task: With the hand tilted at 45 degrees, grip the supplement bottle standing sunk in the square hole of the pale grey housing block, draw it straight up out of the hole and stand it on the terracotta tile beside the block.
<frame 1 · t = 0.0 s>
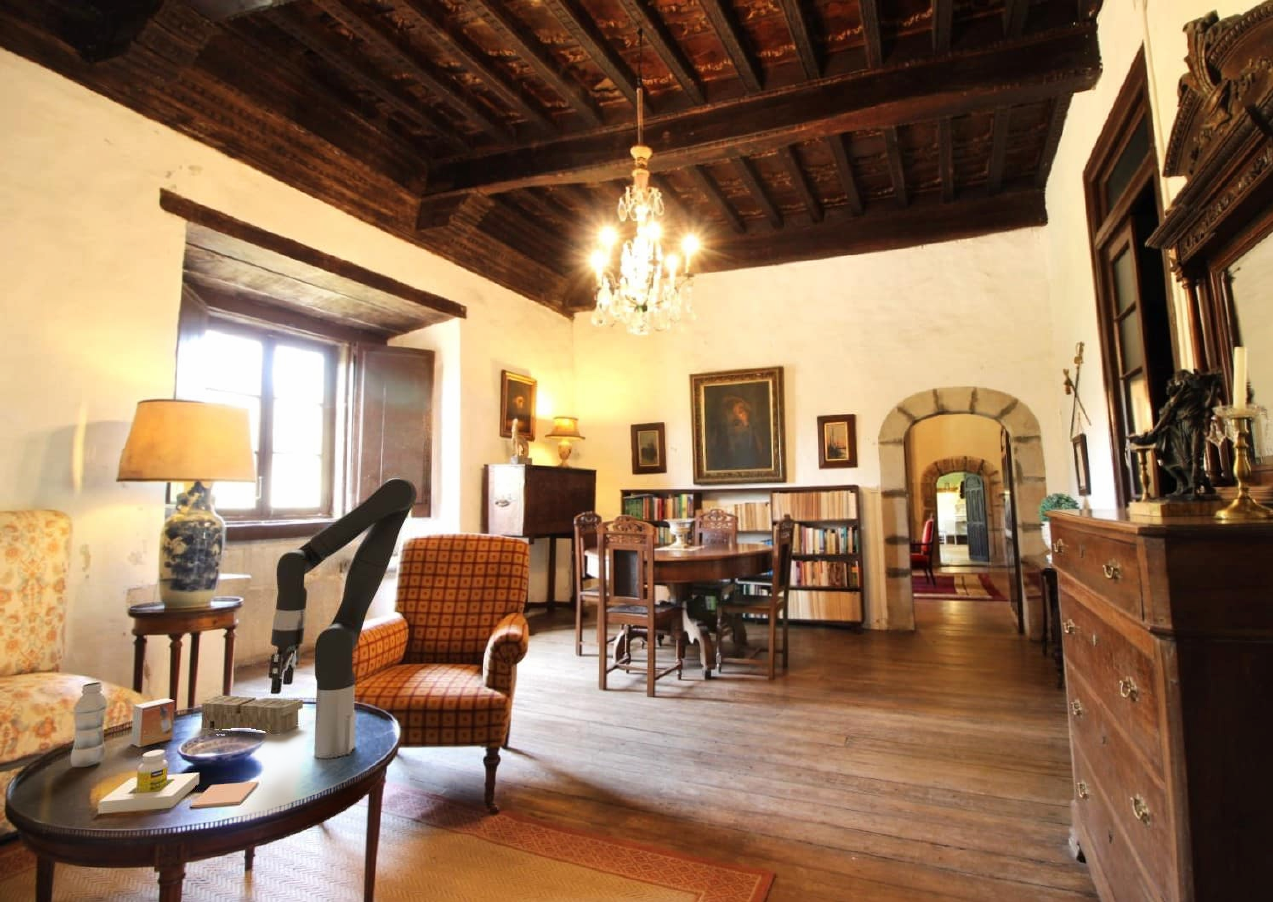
hand: (281, 688, 166), 17 cm above the table, tool pointing down, fingers open, 8 cm apart
plastic bottle: (87, 766, 159), on the table
housing block: (151, 797, 142), on the table
terracotta tile: (225, 795, 143), on the table
small box: (152, 742, 175), on the table
block tower: (249, 728, 186), on the table
supplement bottle: (150, 798, 142), resting in housing block
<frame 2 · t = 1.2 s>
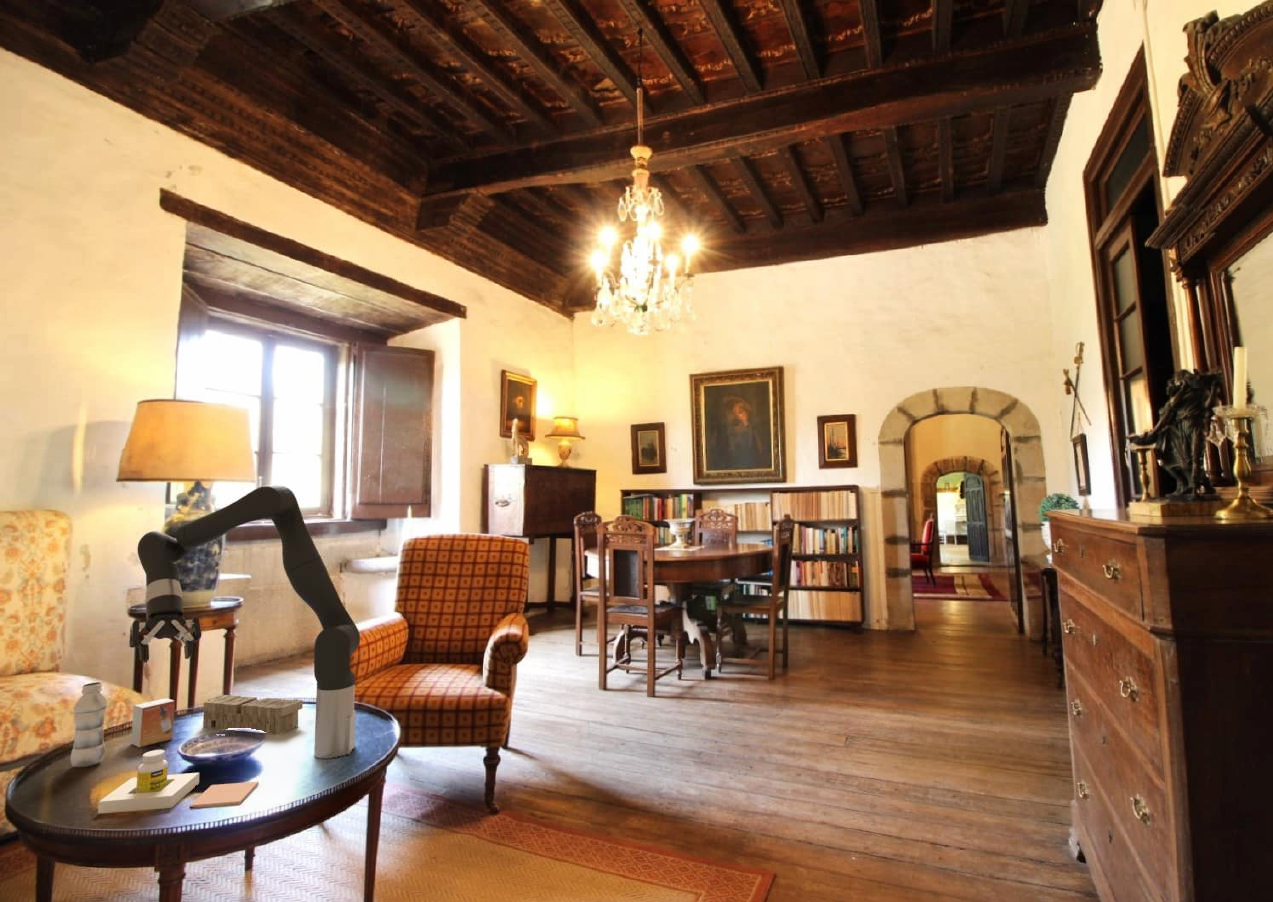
hand: (167, 659, 154), 28 cm above the table, tool tilted 35°, fingers open, 8 cm apart
nothing on the table moved.
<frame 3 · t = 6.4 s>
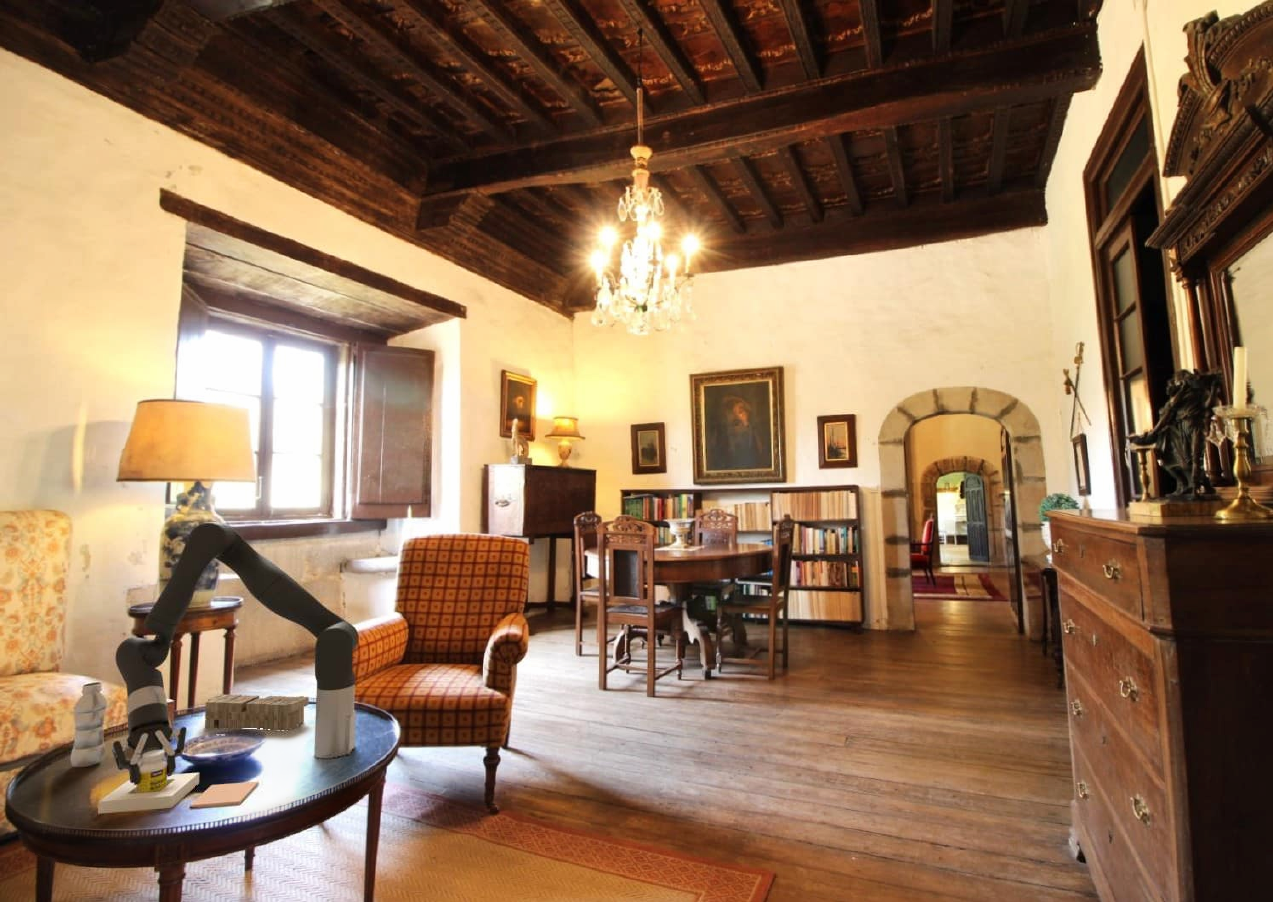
hand: (153, 778, 141), 5 cm above the table, tool tilted 45°, fingers closed on supplement bottle, 5 cm apart
block tower: (254, 726, 188), on the table
supplement bottle: (150, 798, 142), resting in housing block, touching gripper
everything else where it was.
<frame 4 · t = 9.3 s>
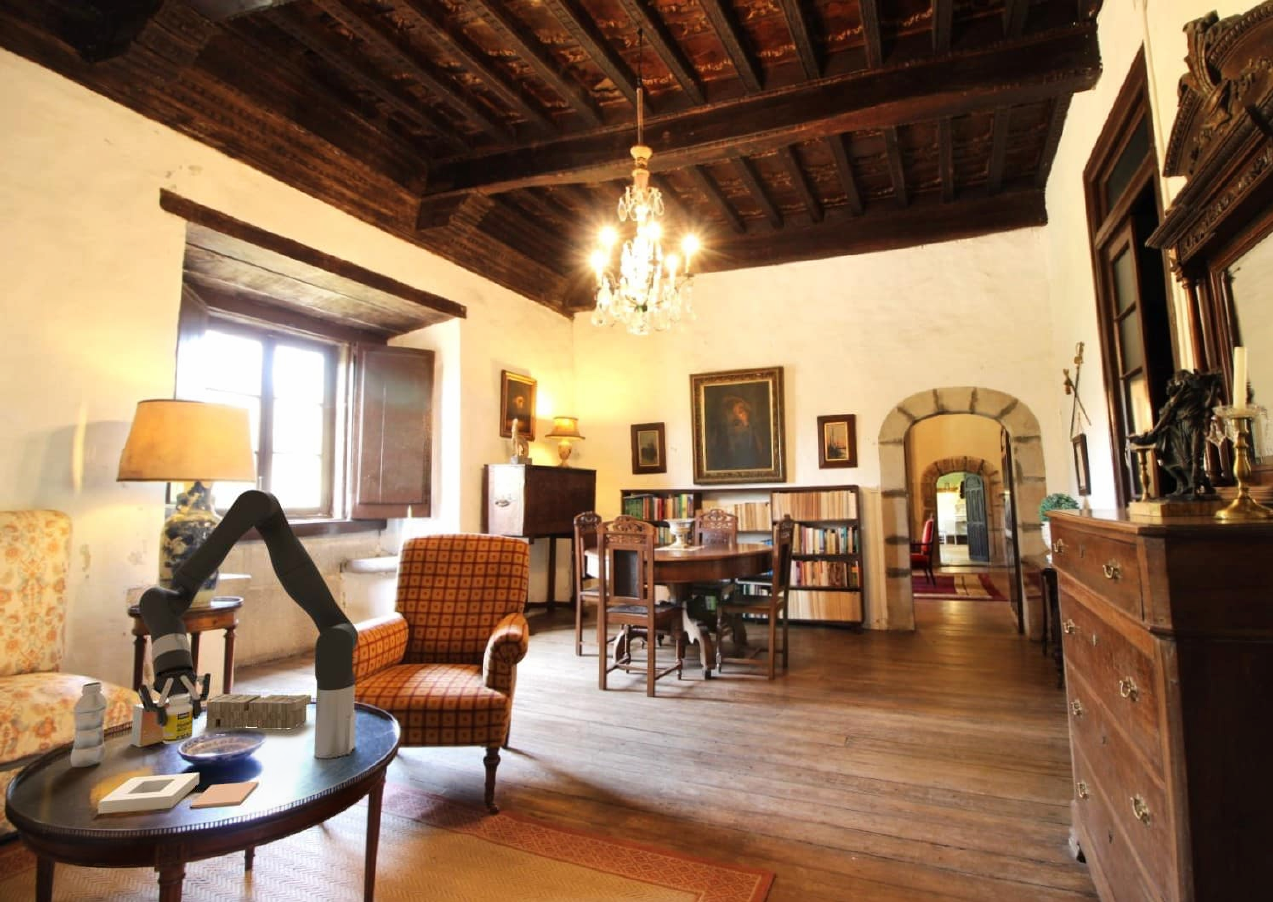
hand: (180, 720, 142), 17 cm above the table, tool tilted 45°, fingers closed on supplement bottle, 5 cm apart
supplement bottle: (177, 741, 143), point 12 cm above the table, touching gripper
when the fingers open (7 cm above the table, at t = 12.5 s): supplement bottle drops 1 cm, resting on terracotta tile.
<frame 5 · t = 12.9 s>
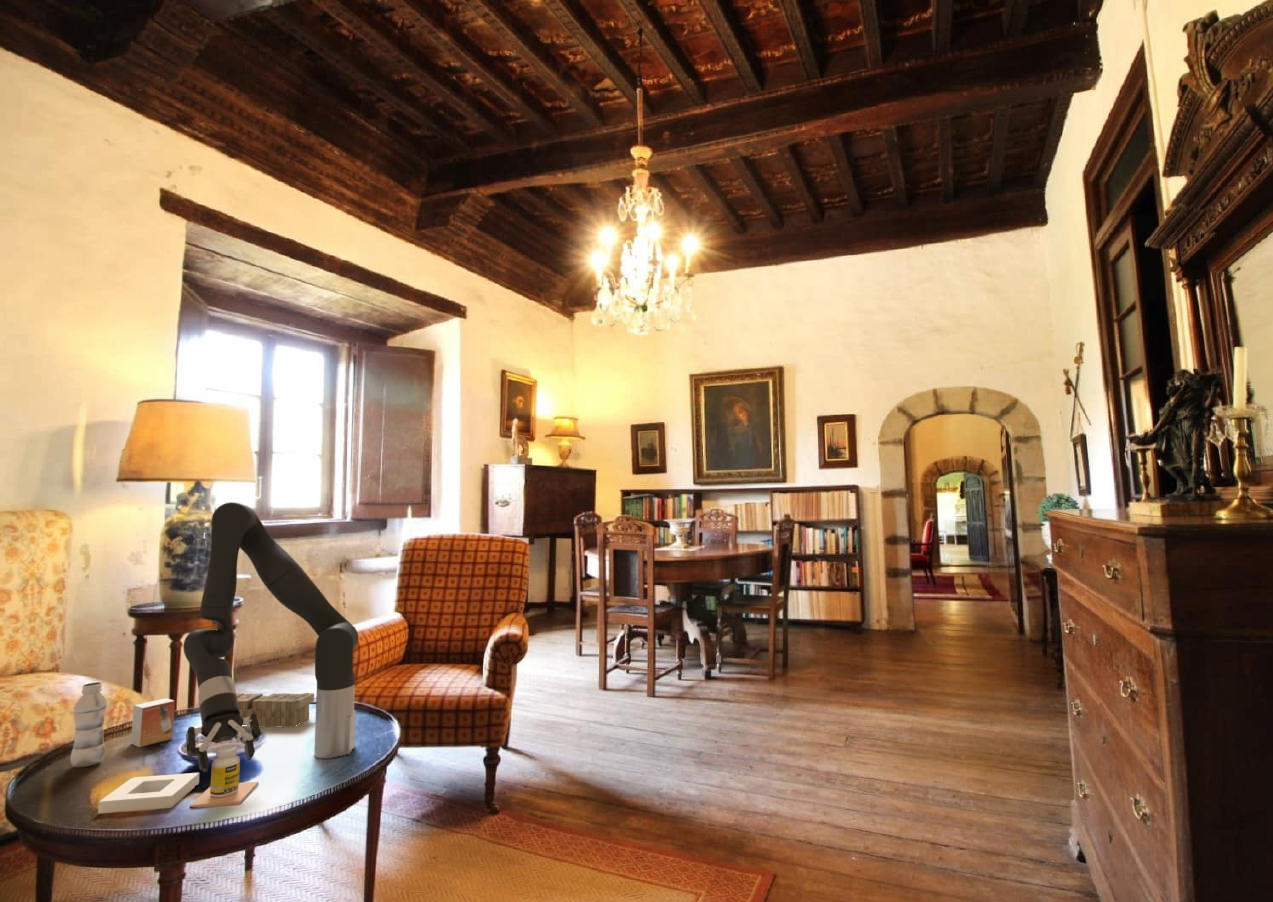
hand: (228, 764, 142), 7 cm above the table, tool tilted 45°, fingers open, 8 cm apart
block tower: (258, 723, 191), on the table
supplement bottle: (224, 793, 143), resting on terracotta tile
everything else where it was.
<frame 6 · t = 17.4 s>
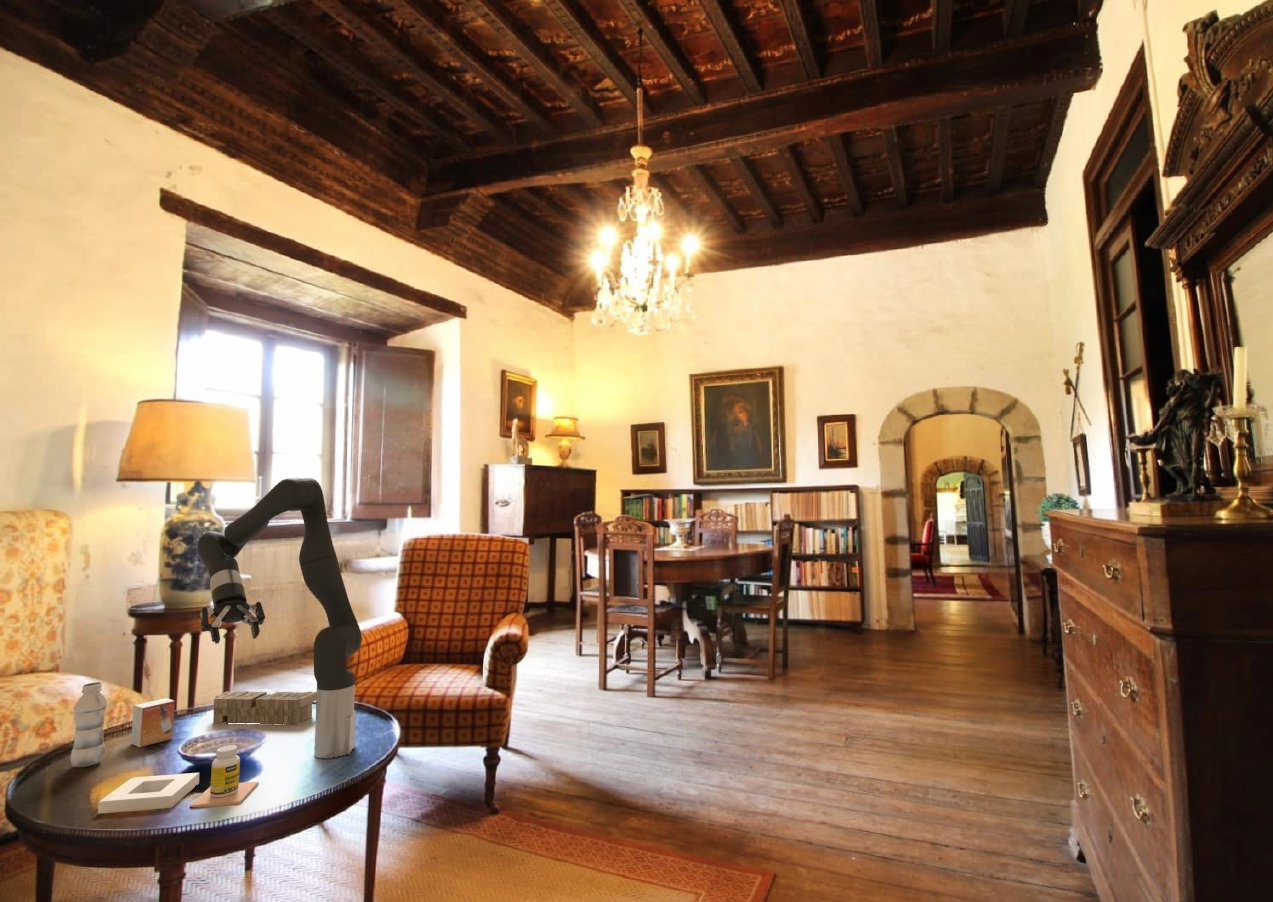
hand: (237, 639, 164), 31 cm above the table, tool tilted 45°, fingers open, 8 cm apart
block tower: (262, 721, 192), on the table
everything else where it was.
at the end: supplement bottle inside the target area on the terracotta tile (0.2 cm from its centre), point 0.4 cm above the terracotta tile's base; supplement bottle tilted 0°; the gripper is holding nothing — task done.
